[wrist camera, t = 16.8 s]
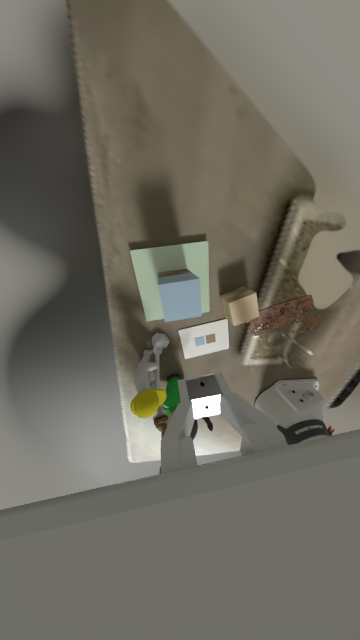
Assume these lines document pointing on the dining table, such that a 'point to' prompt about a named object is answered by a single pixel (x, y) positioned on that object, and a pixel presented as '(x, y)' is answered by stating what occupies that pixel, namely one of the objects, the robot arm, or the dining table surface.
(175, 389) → the toy
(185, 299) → the blue brick
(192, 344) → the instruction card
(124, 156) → the dining table surface
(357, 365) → the dining table surface
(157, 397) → the figurine
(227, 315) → the oak brick
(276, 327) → the bark
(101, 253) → the dining table surface
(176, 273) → the walnut brick
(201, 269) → the plate
